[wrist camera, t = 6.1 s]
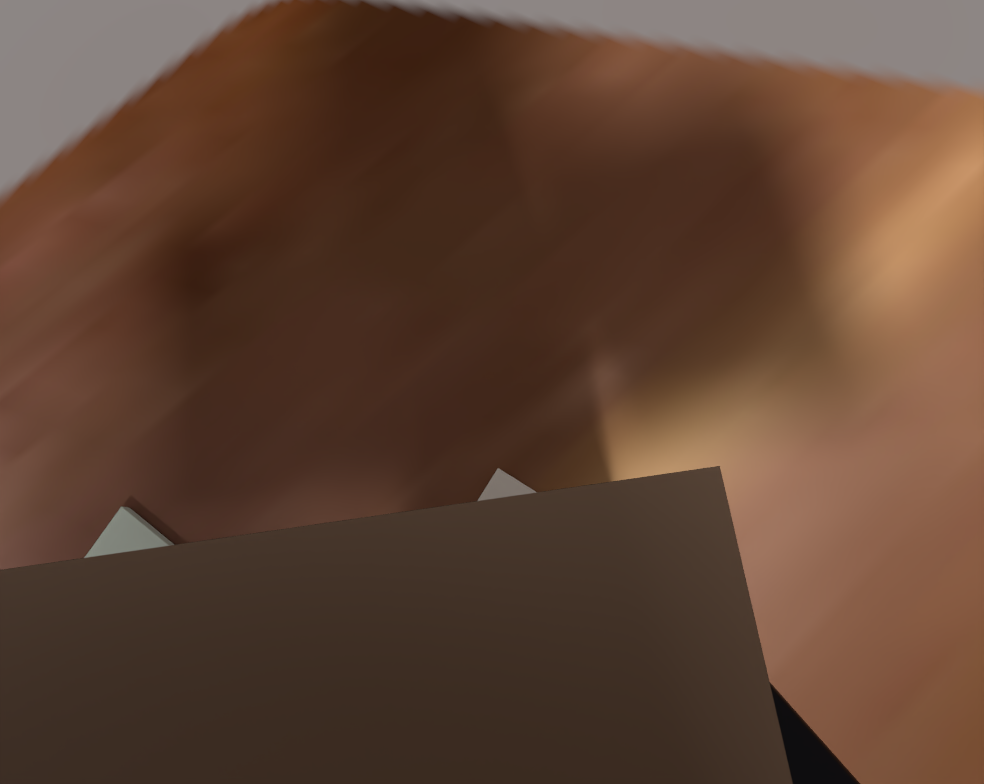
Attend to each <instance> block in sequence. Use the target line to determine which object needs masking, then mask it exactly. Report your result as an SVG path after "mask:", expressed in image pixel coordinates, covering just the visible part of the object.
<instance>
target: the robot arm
mask: <svg viewBox="0 0 984 784" xmlns="http://www.w3.org/2000/svg"><path fill="white" fill-rule="evenodd" d="M769 683H770V682H769ZM770 687H771V691H772V696H773V700H774V704H775V709H776V713H777V717H778V722H779V726H780V730H781V735H782V739H783V743H784V748H785V752H786V756H787V761H788V765H789V769H790V774H791V778H792V782H793V784H860V783H859V782H858V781H857V780H856V778H855V777H854V776H853V775H852V774H851V773H850V772H849V771H848V769H847V768H846V767H845V766H844V765H843V764H842V763H841V762H840V761H839V759H838V758H837V757H836V756H835V755H834V754H833V753H832V752H831V750H830V749H829V748H828V747H827V746H826V745H825V744H824V743H823V741H822V740H821V739H820V738H819V737H818V736H817V735H816V734H815V732H814V731H813V730H812V729H811V728H810V727H809V726H808V725H807V724H806V722H805V721H804V720H803V719H802V718H801V717H800V716H799V715H798V713H797V712H796V711H795V710H794V709H793V708H792V707H791V706H790V704H789V703H788V702H787V701H786V700H785V699H784V698H783V697H782V695H781V694H780V693H779V692H778V691H777V690H776V689H775V688H774V686H773V685H772V684H771V683H770Z"/></svg>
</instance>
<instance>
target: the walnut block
mask: <svg viewBox="0 0 984 784" xmlns="http://www.w3.org/2000/svg"><path fill="white" fill-rule="evenodd" d="M0 784H793V782H792V778H791V774H790V769H789V765H788V761H787V756H786V752H785V748H784V743H783V739H782V735H781V730H780V726H779V722H778V717H777V713H776V709H775V704H774V700H773V696H772V691H771V687H770V683H769V678H768V674H767V669H766V665H765V661H764V656H763V652H762V648H761V643H760V639H759V635H758V630H757V626H756V622H755V617H754V613H753V609H752V604H751V600H750V596H749V591H748V587H747V583H746V578H745V574H744V570H743V565H742V561H741V557H740V552H739V548H738V544H737V539H736V535H735V531H734V526H733V522H732V518H731V513H730V509H729V505H728V500H727V496H726V492H725V487H724V483H723V479H722V474H721V470H720V466H717V467H710V468H703V469H696V470H689V471H682V472H675V473H668V474H661V475H654V476H647V477H640V478H634V479H627V480H620V481H613V482H606V483H599V484H592V485H585V486H578V487H571V488H564V489H557V490H551V491H544V492H537V493H530V494H523V495H516V496H509V497H502V498H495V499H488V500H481V501H474V502H468V503H461V504H454V505H447V506H440V507H433V508H426V509H419V510H412V511H405V512H398V513H391V514H385V515H378V516H371V517H364V518H357V519H350V520H343V521H336V522H329V523H322V524H315V525H308V526H301V527H295V528H288V529H281V530H274V531H267V532H260V533H253V534H246V535H239V536H232V537H225V538H218V539H212V540H205V541H198V542H191V543H184V544H177V545H170V546H163V547H156V548H149V549H142V550H135V551H129V552H122V553H115V554H108V555H101V556H94V557H87V558H80V559H73V560H66V561H59V562H52V563H46V564H39V565H32V566H25V567H18V568H11V569H4V570H0Z"/></svg>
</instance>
